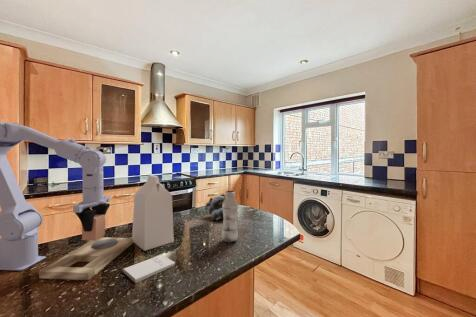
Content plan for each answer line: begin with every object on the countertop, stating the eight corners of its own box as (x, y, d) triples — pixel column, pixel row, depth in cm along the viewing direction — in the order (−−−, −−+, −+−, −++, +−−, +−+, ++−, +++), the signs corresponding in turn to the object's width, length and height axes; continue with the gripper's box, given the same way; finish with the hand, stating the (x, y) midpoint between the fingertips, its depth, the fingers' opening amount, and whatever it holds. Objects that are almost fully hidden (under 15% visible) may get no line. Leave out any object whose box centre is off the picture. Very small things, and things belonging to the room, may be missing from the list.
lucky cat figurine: (209, 222, 110) (202, 196, 115) (211, 224, 121) (205, 200, 126) (238, 213, 112) (230, 187, 117) (237, 216, 123) (230, 192, 128)
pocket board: (39, 278, 61) (38, 270, 61) (97, 242, 85) (97, 236, 85) (88, 279, 61) (88, 271, 60) (132, 243, 84) (132, 237, 84)
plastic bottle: (241, 240, 89) (242, 191, 88) (229, 245, 84) (230, 193, 83) (230, 236, 93) (230, 189, 92) (218, 240, 88) (218, 191, 87)
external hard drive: (122, 273, 65) (161, 258, 74) (135, 285, 60) (175, 267, 69) (122, 268, 65) (161, 253, 74) (135, 279, 60) (175, 261, 69)
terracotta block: (82, 240, 70) (82, 218, 70) (92, 234, 75) (92, 214, 75) (95, 240, 70) (95, 218, 70) (104, 235, 75) (104, 214, 74)
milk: (131, 240, 87) (131, 175, 86) (159, 233, 95) (159, 173, 94) (144, 250, 79) (144, 178, 78) (173, 241, 87) (174, 176, 86)
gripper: (89, 191, 64) (89, 237, 65) (118, 184, 79) (118, 221, 79) (65, 191, 65) (66, 236, 65) (99, 183, 79) (99, 220, 80)
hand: (93, 228), depth 72 cm, fingers closed on terracotta block, 4 cm apart
